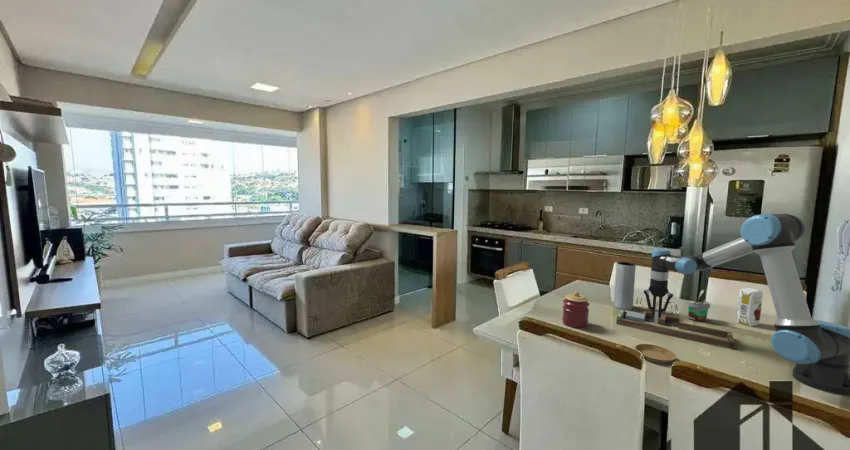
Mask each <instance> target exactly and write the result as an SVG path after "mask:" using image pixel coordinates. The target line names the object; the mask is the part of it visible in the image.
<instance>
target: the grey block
mask: <svg viewBox="0 0 850 450" xmlns="http://www.w3.org/2000/svg"><path fill="white" fill-rule="evenodd" d="M626 312H627V314H626V318H625V319H626V320H631V321H636V322H640V323H645V324H646V321H645V314H643V313H639V312H634V311H631V310H627V311H626Z"/></svg>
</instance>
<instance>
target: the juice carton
mask: <svg viewBox="0 0 850 450" xmlns="http://www.w3.org/2000/svg"><path fill="white" fill-rule="evenodd" d="M737 302H738V306H737V314H736V323H738V324H740V325H744V326H747V327H754V326H755V327H756V326H759V324H760V322H761V321H760V320H761V312H762V305H763V304H762V303H763V290H761V289H757V288H752V287H746V288H740V291H739V295H738V301H737Z"/></svg>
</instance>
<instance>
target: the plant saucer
mask: <svg viewBox="0 0 850 450" xmlns="http://www.w3.org/2000/svg"><path fill="white" fill-rule="evenodd" d="M634 349H635V350H638V351H640V352H641V353H642V354H643V356H644V357H645V358H644V359H645V360H647V361H650V362H651V363H657V364H669V363H671V362H673V361H675V360H676V358H677V356H676V354H675V353H674V352H673V351H671V350H669V349H668V348H665V347H662V346H660V345H655V344H649V343H640V344H639V343H638V344H635V346H634Z"/></svg>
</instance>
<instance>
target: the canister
mask: <svg viewBox="0 0 850 450" xmlns="http://www.w3.org/2000/svg"><path fill="white" fill-rule="evenodd" d="M562 302H563V305H562V317H561V320H562V321H561V322H562V324H564V325H565V326H567V327H571V328H575V329H576V328H577V329H583V328H587V327H588V325H589V321H590V320H589V313H590V309H589V306H590V303H589V298H588V297H587V296H585V295H583V294H581V293H579V291H574V292H573V293H568V294H566V295H565V296H564V299H562Z"/></svg>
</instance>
